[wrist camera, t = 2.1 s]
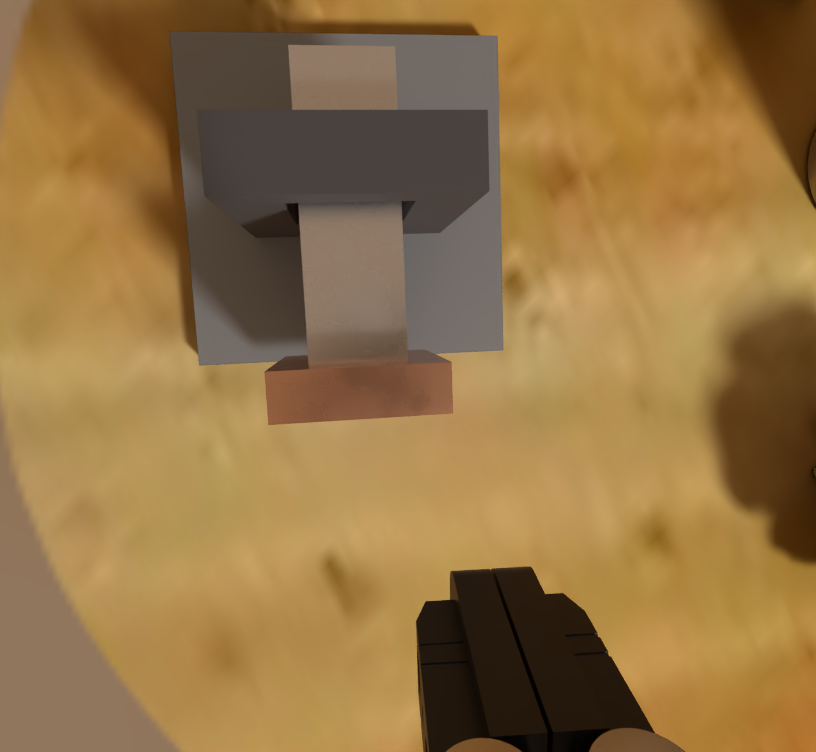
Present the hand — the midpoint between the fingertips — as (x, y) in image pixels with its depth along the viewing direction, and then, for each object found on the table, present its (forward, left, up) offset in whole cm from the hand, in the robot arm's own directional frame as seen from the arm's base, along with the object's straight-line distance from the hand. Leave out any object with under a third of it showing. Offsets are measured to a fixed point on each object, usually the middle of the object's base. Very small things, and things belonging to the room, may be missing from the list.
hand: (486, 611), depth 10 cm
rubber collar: (+2, -11, -21) cm, 24 cm away
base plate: (+2, -12, -22) cm, 25 cm away
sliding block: (+2, -9, -18) cm, 20 cm away
